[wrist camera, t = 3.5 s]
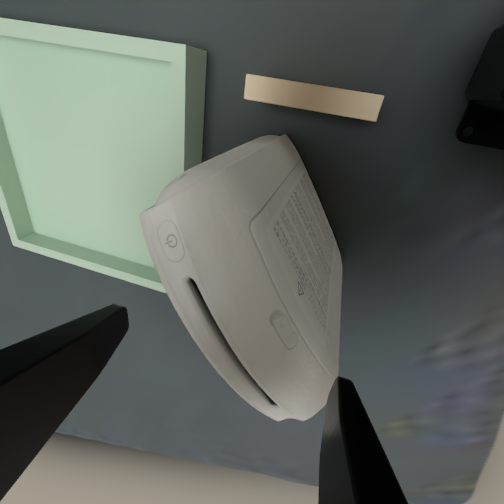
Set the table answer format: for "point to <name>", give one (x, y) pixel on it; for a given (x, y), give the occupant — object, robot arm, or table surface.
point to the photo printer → (254, 273)
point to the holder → (313, 97)
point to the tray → (93, 140)
